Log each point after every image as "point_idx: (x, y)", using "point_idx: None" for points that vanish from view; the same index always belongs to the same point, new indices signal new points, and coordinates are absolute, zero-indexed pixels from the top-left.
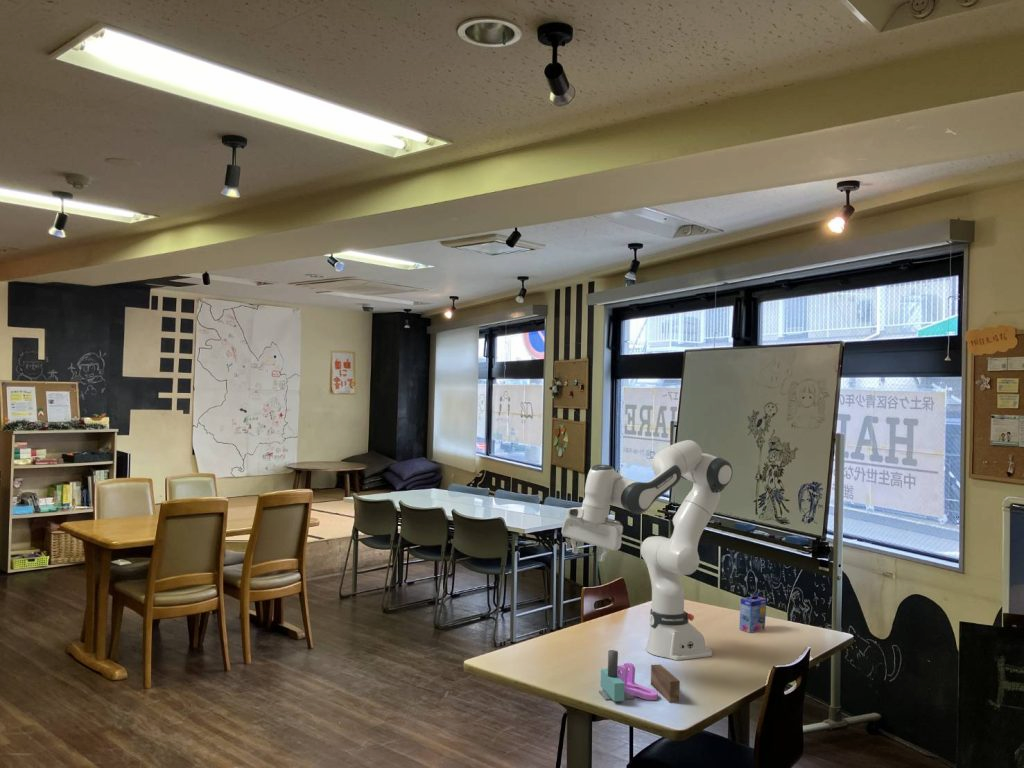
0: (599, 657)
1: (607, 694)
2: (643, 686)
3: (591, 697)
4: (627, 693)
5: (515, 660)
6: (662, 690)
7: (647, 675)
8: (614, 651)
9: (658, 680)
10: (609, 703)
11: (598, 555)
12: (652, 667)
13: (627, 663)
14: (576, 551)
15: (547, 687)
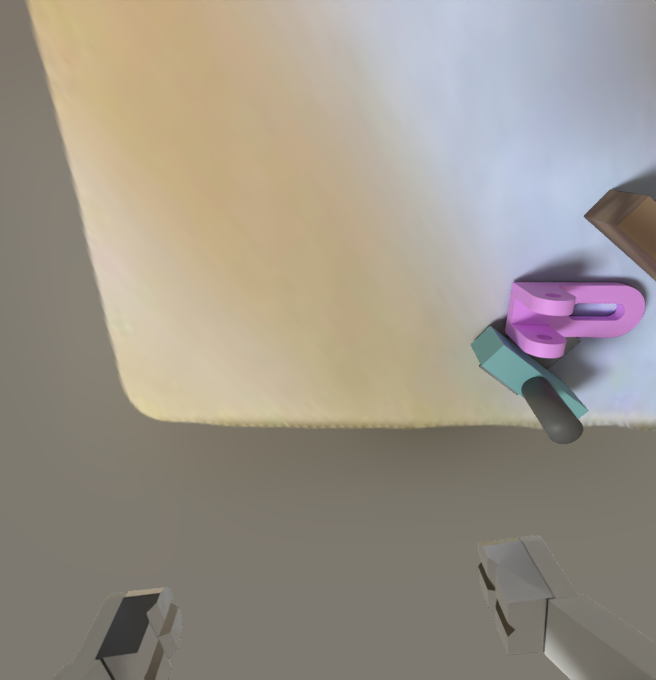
0: (323, 112)
1: None
2: (589, 287)
3: (478, 399)
4: None
5: (182, 331)
6: (652, 273)
7: (544, 145)
8: (568, 426)
9: (643, 259)
10: None
11: (506, 650)
12: (622, 232)
13: (557, 315)
14: (169, 643)
15: (363, 415)
